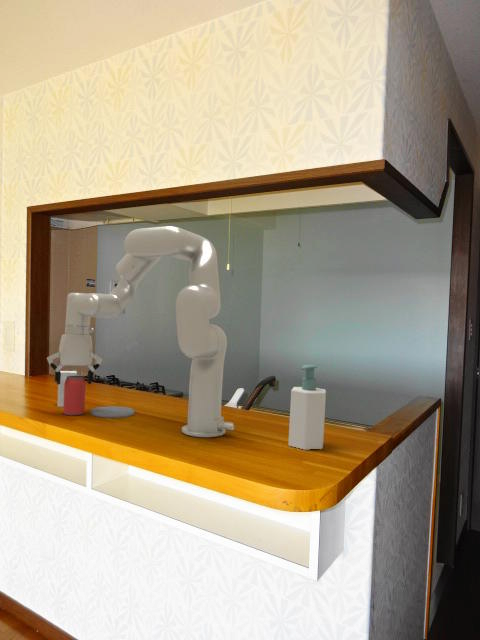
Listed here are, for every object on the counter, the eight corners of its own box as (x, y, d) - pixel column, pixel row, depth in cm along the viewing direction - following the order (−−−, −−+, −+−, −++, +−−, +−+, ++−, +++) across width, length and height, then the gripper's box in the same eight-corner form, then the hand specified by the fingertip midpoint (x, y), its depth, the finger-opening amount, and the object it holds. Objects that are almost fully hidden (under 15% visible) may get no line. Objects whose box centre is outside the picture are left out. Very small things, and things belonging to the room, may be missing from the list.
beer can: (77, 416, 156) (79, 378, 156) (58, 414, 158) (60, 377, 157) (88, 412, 163) (89, 376, 163) (69, 411, 164) (71, 375, 164)
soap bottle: (280, 444, 136) (285, 364, 135) (300, 439, 142) (304, 362, 142) (312, 452, 129) (316, 368, 129) (330, 446, 136) (335, 366, 135)
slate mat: (141, 411, 169) (141, 408, 169) (120, 419, 155) (120, 416, 155) (105, 407, 173) (105, 404, 173) (81, 414, 159) (81, 411, 159)
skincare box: (75, 404, 176) (77, 370, 175) (75, 406, 171) (77, 372, 171) (57, 404, 174) (58, 370, 173) (56, 407, 170) (58, 372, 169)
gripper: (101, 331, 167) (98, 381, 168) (47, 329, 159) (43, 382, 159) (107, 333, 161) (103, 385, 161) (50, 330, 152) (46, 385, 153)
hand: (73, 383), depth 160 cm, fingers open, 9 cm apart
